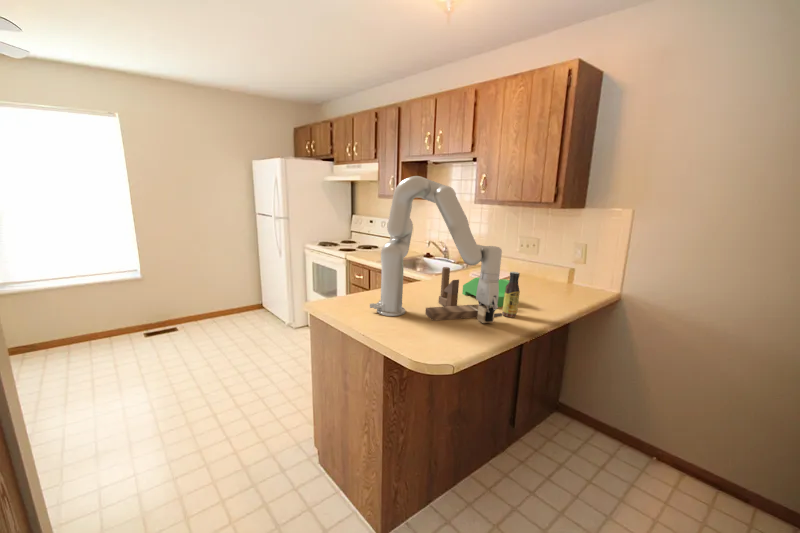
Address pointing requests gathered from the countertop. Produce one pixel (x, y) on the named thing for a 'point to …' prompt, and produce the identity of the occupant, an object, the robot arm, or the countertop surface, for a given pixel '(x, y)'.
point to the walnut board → (452, 312)
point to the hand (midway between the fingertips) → (485, 318)
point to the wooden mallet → (448, 289)
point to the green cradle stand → (472, 285)
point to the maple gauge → (482, 314)
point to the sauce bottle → (511, 296)
